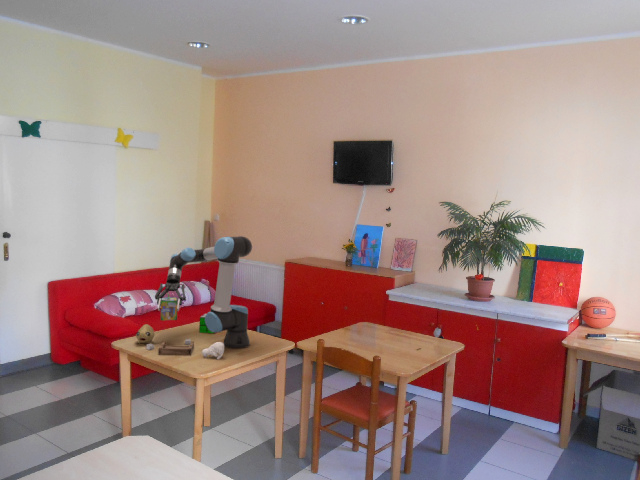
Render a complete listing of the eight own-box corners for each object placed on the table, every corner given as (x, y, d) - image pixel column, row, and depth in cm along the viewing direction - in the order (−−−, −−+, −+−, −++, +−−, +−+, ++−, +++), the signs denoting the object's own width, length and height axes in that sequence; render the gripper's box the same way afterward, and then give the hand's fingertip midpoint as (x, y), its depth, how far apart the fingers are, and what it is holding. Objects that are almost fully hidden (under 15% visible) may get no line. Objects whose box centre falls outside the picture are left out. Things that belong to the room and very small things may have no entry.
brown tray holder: (163, 346, 298) (163, 341, 298) (193, 347, 300) (194, 341, 300) (158, 354, 283) (158, 348, 283) (190, 355, 285) (190, 349, 285)
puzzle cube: (219, 330, 340) (219, 314, 339) (214, 334, 330) (215, 318, 329) (204, 328, 341) (204, 313, 340) (199, 332, 331) (199, 317, 330)
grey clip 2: (190, 343, 307) (190, 339, 307) (190, 344, 304) (190, 340, 304) (185, 343, 307) (185, 339, 307) (184, 344, 304) (185, 340, 304)
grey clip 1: (150, 348, 295) (151, 343, 294) (154, 349, 293) (154, 344, 293) (146, 349, 292) (146, 344, 292) (149, 350, 290) (149, 345, 290)
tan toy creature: (133, 346, 296) (133, 327, 295) (138, 340, 308) (138, 322, 307) (151, 346, 297) (151, 328, 296) (155, 340, 309) (156, 322, 308)
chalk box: (177, 320, 299) (177, 294, 298) (160, 320, 297) (160, 294, 296) (177, 316, 308) (178, 291, 307) (161, 316, 306) (161, 291, 305)
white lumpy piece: (222, 343, 280) (200, 344, 280) (223, 359, 281) (201, 360, 281) (224, 340, 286) (202, 341, 286) (225, 355, 287) (203, 356, 287)
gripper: (193, 281, 317) (189, 313, 303) (155, 280, 315) (148, 312, 301) (192, 274, 311) (187, 306, 297) (153, 273, 309) (146, 305, 295)
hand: (168, 309), depth 299 cm, fingers closed on chalk box, 10 cm apart
